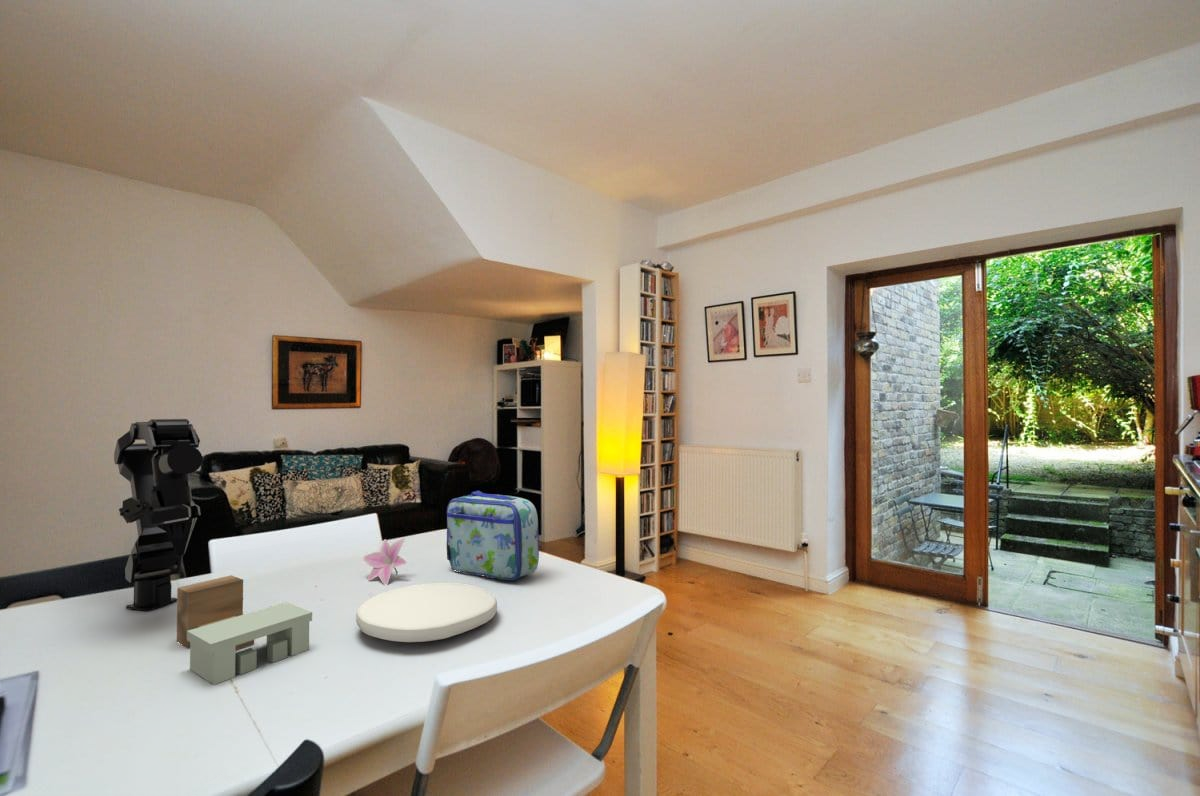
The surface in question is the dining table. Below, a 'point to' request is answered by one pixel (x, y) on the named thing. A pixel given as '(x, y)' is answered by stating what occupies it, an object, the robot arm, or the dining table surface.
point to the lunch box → (492, 535)
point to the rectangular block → (208, 605)
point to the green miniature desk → (219, 639)
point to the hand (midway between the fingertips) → (180, 555)
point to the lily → (385, 560)
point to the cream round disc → (426, 612)
